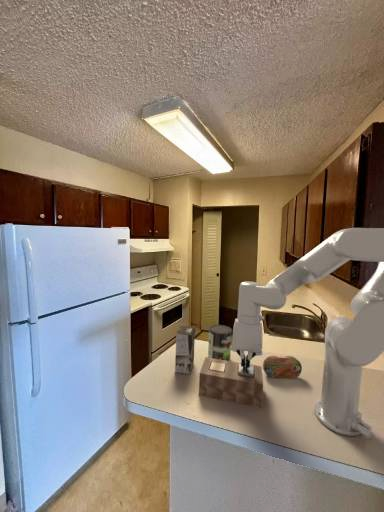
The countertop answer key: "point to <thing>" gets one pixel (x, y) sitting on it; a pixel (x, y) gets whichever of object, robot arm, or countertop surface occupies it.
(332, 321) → the robot arm
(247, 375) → the metal peg
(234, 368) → the sleeve block
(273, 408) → the countertop surface
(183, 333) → the coffee box
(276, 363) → the tin
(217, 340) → the coffee can
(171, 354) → the countertop surface
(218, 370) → the beech peg
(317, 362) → the countertop surface
